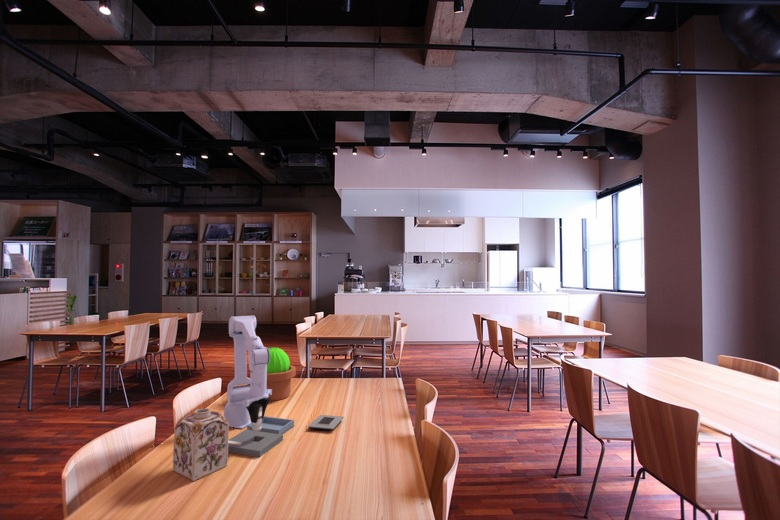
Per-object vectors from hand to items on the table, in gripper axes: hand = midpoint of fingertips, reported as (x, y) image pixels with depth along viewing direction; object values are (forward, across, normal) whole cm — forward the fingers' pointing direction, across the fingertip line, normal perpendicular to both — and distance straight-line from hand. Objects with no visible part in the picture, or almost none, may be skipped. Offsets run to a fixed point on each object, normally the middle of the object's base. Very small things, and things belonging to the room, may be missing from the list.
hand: (257, 420), depth 136 cm
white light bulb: (+3, 0, 0) cm, 3 cm away
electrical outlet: (+9, +24, -16) cm, 30 cm away
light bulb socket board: (+8, -1, +1) cm, 9 cm away
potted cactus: (+9, +51, +27) cm, 58 cm away
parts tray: (+8, +14, +3) cm, 16 cm away
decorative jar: (+9, -20, +6) cm, 23 cm away
